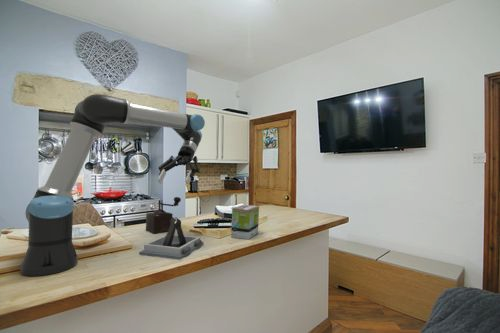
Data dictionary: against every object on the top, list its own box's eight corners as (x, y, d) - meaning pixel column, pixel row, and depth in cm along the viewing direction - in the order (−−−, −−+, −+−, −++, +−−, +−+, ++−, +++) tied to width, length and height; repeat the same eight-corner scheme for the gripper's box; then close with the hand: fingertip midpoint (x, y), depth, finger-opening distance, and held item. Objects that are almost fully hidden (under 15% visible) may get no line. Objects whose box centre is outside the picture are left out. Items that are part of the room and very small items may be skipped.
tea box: (249, 240, 124) (250, 209, 124) (230, 237, 127) (231, 207, 127) (258, 232, 138) (259, 205, 138) (241, 230, 141) (241, 204, 141)
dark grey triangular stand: (165, 250, 102) (166, 220, 102) (162, 246, 107) (163, 217, 107) (187, 247, 107) (188, 218, 107) (183, 243, 112) (184, 216, 112)
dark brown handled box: (155, 234, 130) (155, 199, 130) (145, 230, 138) (145, 197, 138) (181, 229, 142) (182, 197, 142) (171, 226, 149) (171, 195, 149)
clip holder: (139, 254, 100) (139, 245, 100) (168, 240, 120) (168, 233, 120) (181, 259, 95) (181, 250, 95) (205, 244, 115) (205, 236, 115)
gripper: (212, 156, 132) (200, 188, 117) (167, 156, 136) (151, 186, 122) (209, 145, 127) (196, 176, 112) (162, 145, 131) (144, 175, 116)
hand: (172, 181), depth 117 cm, fingers open, 13 cm apart
